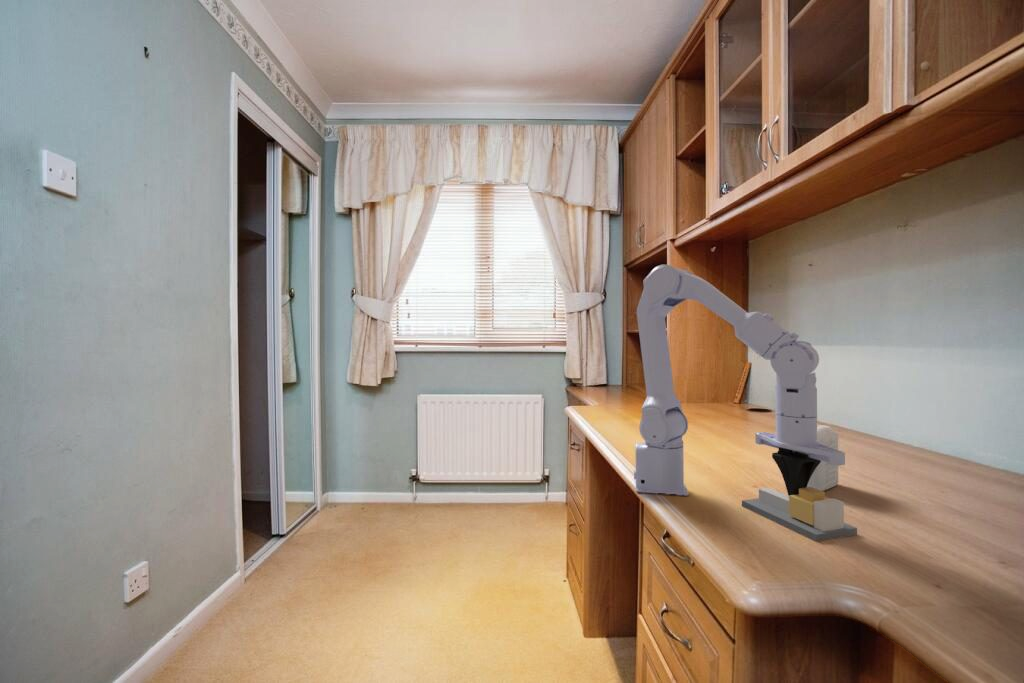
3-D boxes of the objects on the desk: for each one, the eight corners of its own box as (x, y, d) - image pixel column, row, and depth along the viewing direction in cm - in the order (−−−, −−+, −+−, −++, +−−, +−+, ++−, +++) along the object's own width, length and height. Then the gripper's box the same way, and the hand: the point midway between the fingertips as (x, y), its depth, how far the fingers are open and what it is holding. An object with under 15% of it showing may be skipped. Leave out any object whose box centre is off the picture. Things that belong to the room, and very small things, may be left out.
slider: (789, 515, 69) (788, 487, 69) (811, 511, 70) (811, 484, 70) (812, 525, 65) (812, 496, 65) (835, 521, 67) (835, 493, 67)
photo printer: (817, 479, 91) (817, 420, 91) (841, 484, 87) (841, 424, 87) (794, 488, 85) (794, 426, 85) (819, 495, 81) (819, 430, 81)
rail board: (741, 506, 77) (741, 478, 77) (777, 501, 79) (777, 474, 79) (816, 541, 63) (816, 507, 63) (857, 534, 65) (856, 501, 65)
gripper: (860, 421, 65) (860, 511, 65) (777, 407, 79) (777, 480, 79) (824, 424, 63) (824, 516, 63) (745, 408, 77) (746, 484, 77)
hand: (796, 497), depth 71 cm, fingers closed
